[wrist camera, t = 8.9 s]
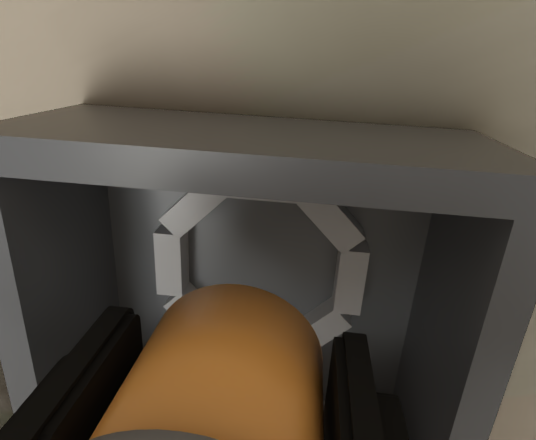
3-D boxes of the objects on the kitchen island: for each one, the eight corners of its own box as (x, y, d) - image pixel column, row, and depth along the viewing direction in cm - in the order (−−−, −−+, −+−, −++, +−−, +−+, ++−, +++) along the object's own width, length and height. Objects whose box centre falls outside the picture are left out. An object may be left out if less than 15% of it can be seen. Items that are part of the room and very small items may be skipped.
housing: (125, 478, 23) (62, 615, 17) (81, 104, 15) (-56, 131, 10) (383, 515, 21) (406, 675, 16) (474, 130, 14) (579, 178, 8)
